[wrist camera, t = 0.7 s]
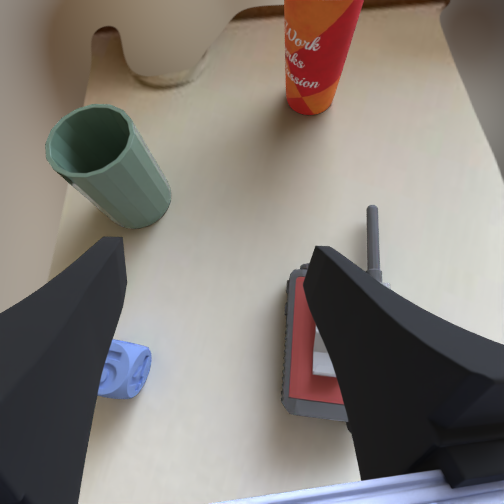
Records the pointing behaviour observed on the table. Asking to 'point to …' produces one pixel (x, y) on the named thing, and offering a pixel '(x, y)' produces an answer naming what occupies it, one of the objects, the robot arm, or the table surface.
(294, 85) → the paper cup
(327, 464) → the table surface
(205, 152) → the table surface
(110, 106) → the pencil cup
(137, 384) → the decorative dice
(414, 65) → the table surface
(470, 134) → the table surface
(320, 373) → the walkie-talkie
